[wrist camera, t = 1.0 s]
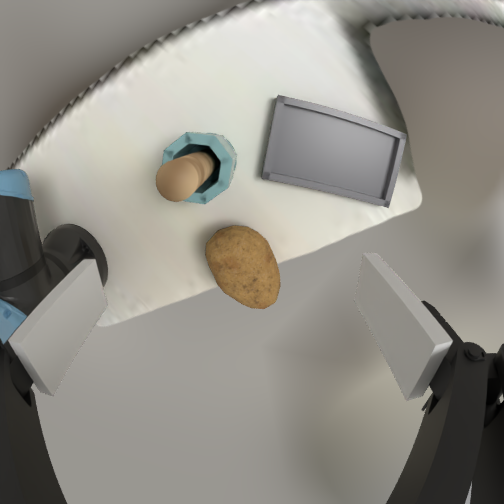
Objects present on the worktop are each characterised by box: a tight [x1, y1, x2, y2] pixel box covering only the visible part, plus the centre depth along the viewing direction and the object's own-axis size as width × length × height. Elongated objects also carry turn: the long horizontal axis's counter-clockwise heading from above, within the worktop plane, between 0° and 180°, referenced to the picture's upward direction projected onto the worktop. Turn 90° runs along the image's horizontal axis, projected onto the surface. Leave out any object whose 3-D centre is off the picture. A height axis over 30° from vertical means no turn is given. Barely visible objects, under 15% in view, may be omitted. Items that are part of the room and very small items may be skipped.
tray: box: [261, 95, 407, 208], centre depth 37 cm, size 20×12×2 cm, turn 80°
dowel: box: [156, 149, 220, 202], centre depth 30 cm, size 4×4×17 cm
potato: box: [205, 226, 280, 309], centre depth 41 cm, size 10×14×8 cm
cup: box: [162, 132, 237, 204], centre depth 34 cm, size 8×8×10 cm
